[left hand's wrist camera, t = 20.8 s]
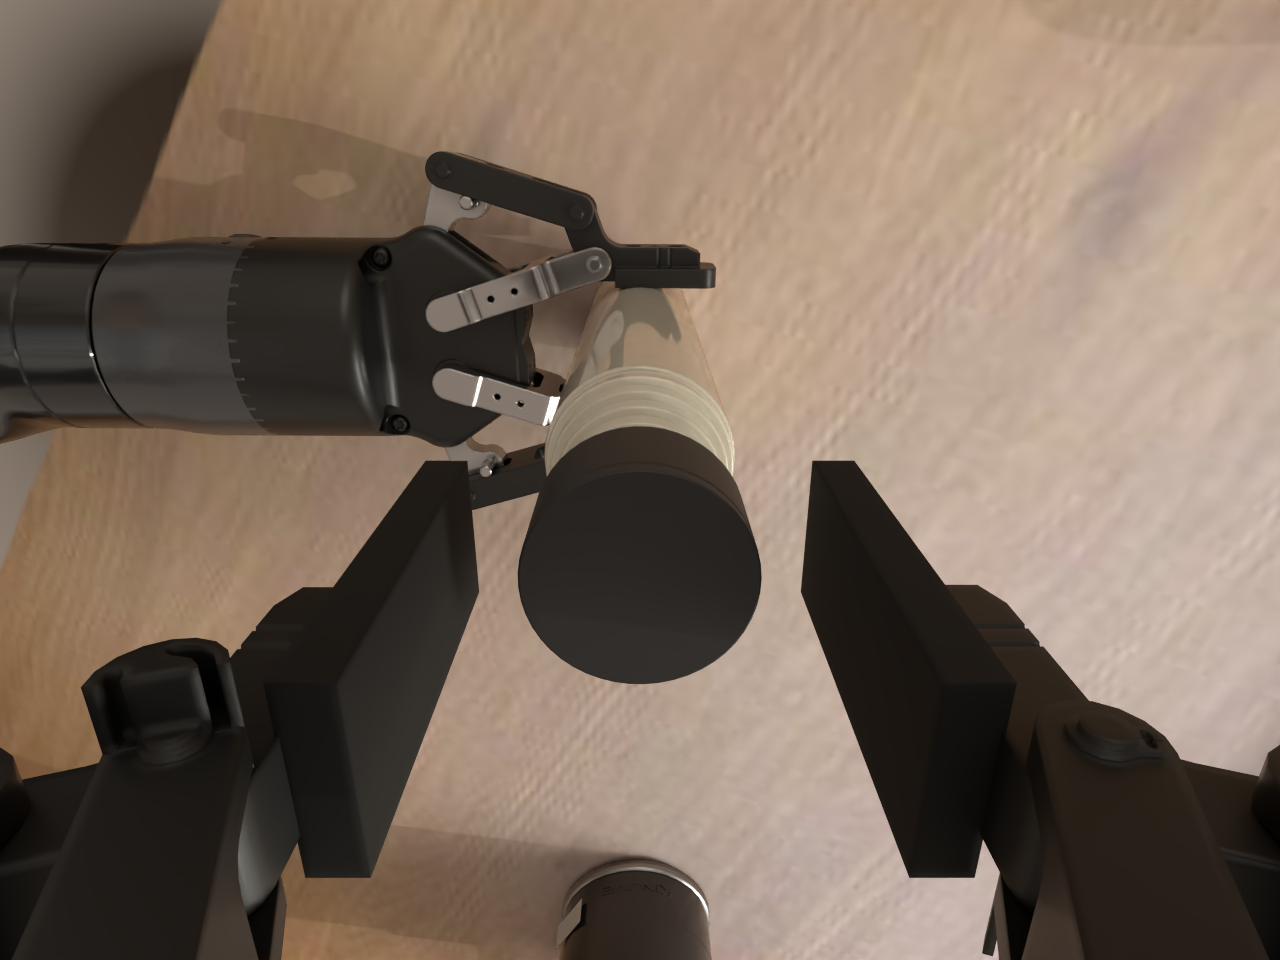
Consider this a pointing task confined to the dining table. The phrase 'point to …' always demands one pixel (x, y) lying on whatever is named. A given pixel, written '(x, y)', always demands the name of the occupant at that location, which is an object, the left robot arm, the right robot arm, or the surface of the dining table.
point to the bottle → (639, 375)
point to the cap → (639, 557)
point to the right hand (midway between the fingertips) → (708, 340)
